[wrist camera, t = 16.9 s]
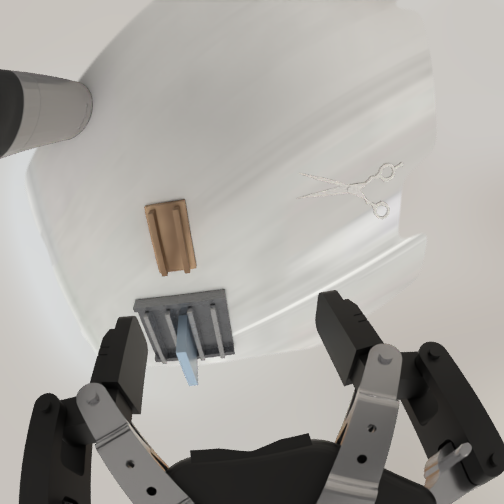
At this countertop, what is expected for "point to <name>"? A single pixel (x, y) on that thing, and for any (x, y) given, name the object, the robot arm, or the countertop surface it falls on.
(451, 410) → the robot arm
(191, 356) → the plate
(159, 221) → the plate stand
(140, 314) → the dish rack
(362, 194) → the scissors
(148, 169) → the countertop surface
